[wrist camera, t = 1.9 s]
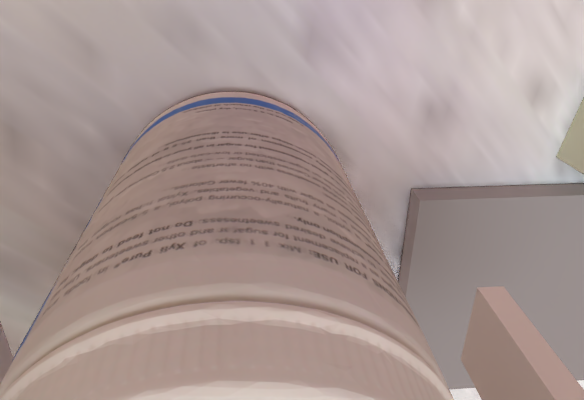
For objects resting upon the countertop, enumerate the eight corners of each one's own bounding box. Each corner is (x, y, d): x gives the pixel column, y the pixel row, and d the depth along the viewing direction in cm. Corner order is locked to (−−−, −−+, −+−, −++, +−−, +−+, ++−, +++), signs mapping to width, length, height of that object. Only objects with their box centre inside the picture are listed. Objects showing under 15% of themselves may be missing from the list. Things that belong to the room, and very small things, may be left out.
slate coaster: (385, 376, 27) (391, 393, 26) (411, 188, 22) (420, 200, 21) (581, 363, 28) (594, 378, 27) (653, 181, 23) (673, 192, 22)
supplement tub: (82, 135, 19) (-266, 512, 6) (300, 49, 18) (440, 267, 5) (187, 306, 24) (117, 737, 10) (366, 242, 23) (532, 621, 10)
